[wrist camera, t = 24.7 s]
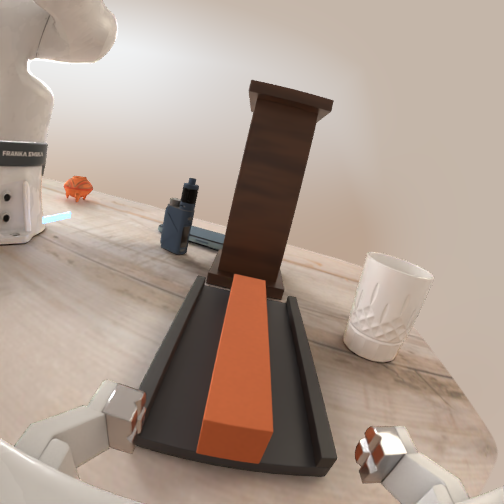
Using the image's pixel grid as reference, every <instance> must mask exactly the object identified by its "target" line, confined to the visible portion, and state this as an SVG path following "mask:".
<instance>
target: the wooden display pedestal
mask: <svg viewBox="0 0 504 504" xmlns="http://www.w3.org/2000/svg"><path fill="white" fill-rule="evenodd" d="M249 98H250V105H251V111H252V112H253V117H252V120H251V125H250V129H249V133H248V137H247V141H246V145H245V150H244V154H243V158H242V163H241V167H240V171H239V175H238V180H237V184H236V188H235V193H234V197H233V202H232V207H231V211H230V216H229V220H228V225H227V229H226V234H225V238H224V243H223V248H222V250H221V249H219V251H218V253H217V255H216V258H215V260H214V262H213V264H212V266H211V268H210V270H209V273H208V277H207V282H206V283H208V284H212V285H217V286H221V287H225V288H230V289H231V287H232V282H233V278H234V274H238V275H242V276H247V277H251V278H256V279H260V280H265V281H266V297H271V298H275V299H280V300H281V299H282V296H283V293H284V286H283V281H282V276H281V271H280V266H281V262H282V259H283V255H284V251H285V247H286V244H287V240H288V236H289V232H290V228H291V224H292V220H293V217H294V213H295V209H296V205H297V201H298V197H299V193H300V189H301V185H302V180H303V176H304V172H305V168H306V164H307V160H308V156H309V152H310V147H311V143H312V139H313V135H314V131H315V126H316V123H317V122H318V121H319V120H321V119H322V118H323V117H324V116H326V115H327V114H328V113H330V112H331V110H332V105H333V100H330V99H327V98H323V97H320V96H316V95H313V94H309V93H305V92H302V91H298V90H294V89H290V88H286V87H281V86H277V85H273V84H269V83H264V82H259V81H254V80H251V84H250V87H249Z"/></svg>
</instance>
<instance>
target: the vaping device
mask: <svg viewBox="0 0 504 504" xmlns="http://www.w3.org/2000/svg"><path fill="white" fill-rule="evenodd" d="M195 182H196V179H193V178H189V183H184V187H183V192H182V197H181V199H177V198H171V199H170V204H168V206H167V208H166V211H165V216H164V222H163V228H162V234H161V241H160V242H161V247H162V248H164V249H166V250H168V251H170V252H172V253H175V254H185V253H186V252H187V247H188V241H189V236H190V230H191V225H192V220H193V215H194V208H195V203H196V198H197V193H198V192H197V191H198V189H199V186H198V185H195Z"/></svg>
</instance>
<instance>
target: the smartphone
mask: <svg viewBox="0 0 504 504" xmlns="http://www.w3.org/2000/svg"><path fill="white" fill-rule="evenodd" d="M162 228H163V224H162V225H159V228H158V230H159V231H160V232H162ZM224 238H225V235H224V234H220V233H216V232H213V231H209V230H205V229H202V228H198V227H194V226H191V230H190V236H189V241H192V242H196V243H199V244H202V245H206V246H209V247H210V248H212V249H215V250H219V249H221V250H222V248H223V243H224Z"/></svg>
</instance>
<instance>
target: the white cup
mask: <svg viewBox="0 0 504 504" xmlns="http://www.w3.org/2000/svg"><path fill="white" fill-rule="evenodd" d="M433 280H434V276H433V275H432V274H431V273H430V272H428V271H427V270H425V269H423V268H421V267H419V266H417V265H415V264H413V263H410V262H408V261H405V260H403V259H400V258H397V257H394V256H390V255H386V254H382V253H377V252H368V253H367V255H366V259H365V262H364V266H363V270H362V273H361V277H360V280H359V283H358V287H357V290H356V294H355V297H354V301H353V305H352V308H351V311H350V315H349V320H348V323H347V326H346V329H345V332H344V337H343V341H344V343H345V344H346V346H347V347H348V348H349V349H350V350H351V351H353V352H354V353H356V354H357V355H359V356H361V357H363V358H366V359H368V360H371V361H377V362H388V361H392V360H393V359H394V358H395V357H396V355H397V354H398V352H399V350H400V348H401V346H402V344H403V342H404V340H405V339H406V338H407V336H408V334H409V332H410V330H411V329H412V327H413V325H414V322H415V320H416V318H417V317H418V315H419V313H420V310H421V308H422V306H423V304H424V301H425V299H426V297H427V294H428V292H429V290H430V287H431V285H432V283H433Z"/></svg>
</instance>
